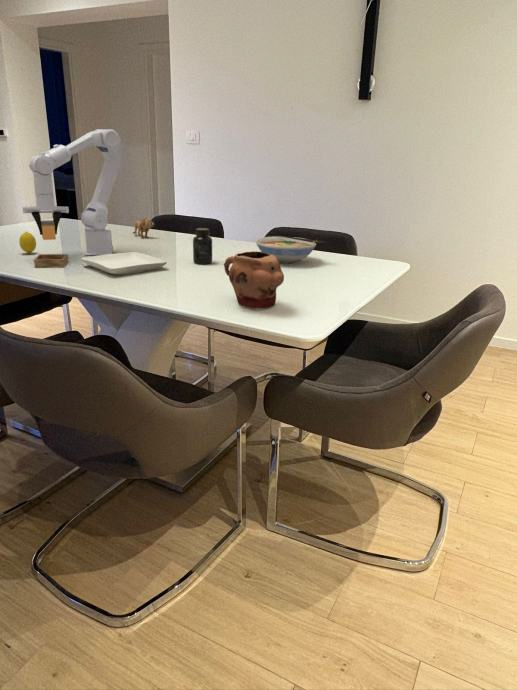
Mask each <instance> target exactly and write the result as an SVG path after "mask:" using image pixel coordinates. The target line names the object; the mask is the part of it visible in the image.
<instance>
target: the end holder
mask: <svg viewBox="0 0 517 690" xmlns="http://www.w3.org/2000/svg"><path fill="white" fill-rule="evenodd" d="M68 255H69V254H67V253H66V254H65V253H61V254H60V253H56V254H55V253H54V254H53V253H52V254H51V253H45V254H43V253H40V254H37V256H36V257H35V258H34V259H33V263H34V268H66V267H65V266H67V265H68V263H69V256H68Z"/></svg>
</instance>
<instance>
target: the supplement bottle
mask: <svg viewBox="0 0 517 690" xmlns="http://www.w3.org/2000/svg"><path fill="white" fill-rule="evenodd" d="M192 257H193V258H192V259H193V260H192V261H193V264H197V265H202V266H203V265H210V264H212V263H213V239H212V237H211V236H210V229H209V228H205V227H204V228H203V227H199V228H195V236H194V237H193V239H192Z"/></svg>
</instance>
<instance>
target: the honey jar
mask: <svg viewBox="0 0 517 690" xmlns="http://www.w3.org/2000/svg"><path fill="white" fill-rule="evenodd" d="M41 227H42V233H43V235H41V237H42V240H43V241H48V240H49V241H51V240H53V241H54V240H56V239H57V237H56V234H55V226H54V221H53V219H51V220H50V219H49V220H41Z"/></svg>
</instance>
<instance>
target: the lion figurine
mask: <svg viewBox="0 0 517 690" xmlns="http://www.w3.org/2000/svg"><path fill="white" fill-rule="evenodd" d="M154 225H155V223H154V222H153V221H152V220H151V218H150V217H146V218H144V219H142V220H141V221H140V220H136V221H135V222H134V231H133V232H132V234H134V237H137V236H140V239H143V240H144V237H145V238H146V239H149V236H148V233H149V230H151V228H153V227H154Z"/></svg>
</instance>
